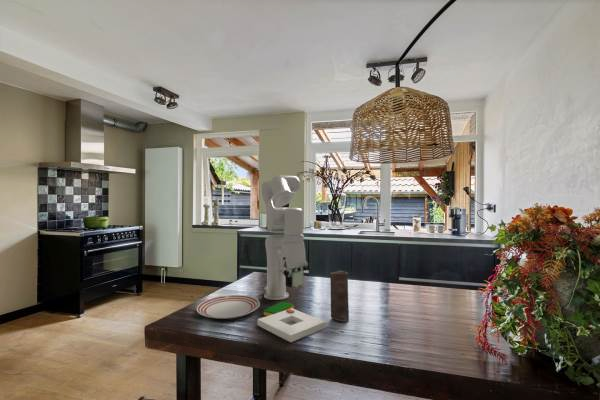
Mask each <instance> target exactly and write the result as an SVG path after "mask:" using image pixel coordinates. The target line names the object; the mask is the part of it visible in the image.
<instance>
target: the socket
mask: <svg viewBox="0 0 600 400" xmlns="http://www.w3.org/2000/svg"><path fill="white" fill-rule="evenodd" d="M257 326H258V327H260V328H262V329H264V330H266V331H268V332H269V333H272V334H273V335H275V336H277V337H279V338H281V339H283V340H285V341H287V342H288V343H293V342H295V341H297V340H300V339H302V338H304V337H307V336H309V335H312V334H314V333H317V332H318V331H322V330H323V329H326V328H327V327H326V326H327V321H325V320H323V319H320V318H317V317H315V316H312V315H311V314H308V313H305V312H302V311H300V310H297V309H295V308H294V309H292V308H291V309H288V310H285V311H282V312H279V313H276V314H272V315H269V316H266V315H265V316H263V317H260V318H257Z"/></svg>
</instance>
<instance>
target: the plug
mask: <svg viewBox="0 0 600 400" xmlns="http://www.w3.org/2000/svg"><path fill="white" fill-rule="evenodd" d="M288 271H289V270H288ZM291 277H292V287H294V288H299V287H300V286H301V285H304V274H303V272H302V271H297V269H296V268H295V269H292V272H291ZM285 284H286V279H285Z"/></svg>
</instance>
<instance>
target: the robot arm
mask: <svg viewBox="0 0 600 400" xmlns="http://www.w3.org/2000/svg"><path fill="white" fill-rule="evenodd" d="M260 187H261V188H260V189H261V190H260V191H261V197H262V199H263V202H264V204H265V209H266V210H265V211H266V227H267V230H268V231H269V232H270V233H283V234H272V235H268V236H267V237H266V239H265V240H264V242H265V245H264V246H265V252H266V286H264V290H266V291H265V293H264V295H263V297H264V299H267V300H270V301H280V300H281V301H283V300H286V299H288V298H289V296H290V294H289V292H287V291H286V290H287V287H288V288H292V287H293V286H292V277H291V272H292V269H295V270H297V271H302V272H303V275H304V274H305V270H306V268H307V267H308V266H309V262H308V261H307V258H306V257H307V254H306V253H307V252H306V247H305V242H304V239H305V235H304V211H303V209H302V208H299V207H284V206H286V205H288V204H289V203H291V201H292V200H293V196H295V195H297V194H298V193H299V192H300V189H301V182H300V179H299V177H298V176H297V175H281V174H280V175H276V176H273V177H272V178H271V180H266V181H263V182H262V183H261V186H260ZM288 270H289V271H288ZM285 279H286V284H285Z"/></svg>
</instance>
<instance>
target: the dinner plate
mask: <svg viewBox="0 0 600 400" xmlns="http://www.w3.org/2000/svg"><path fill="white" fill-rule="evenodd" d="M260 305H261V302H260V300H259V299H257V298H256V297H253V296H251V295H250V296H249V295H244V294H228V295H227V294H226V295H220V296H215V297H212V298H208V299H206V300H204V301H202V302H201V303H199V304H198V305H197V307H196V312H197V313H198V314H199V315H201V316H204V317H205V318H209V319H217V320H218V319H219V320H231V319H236V318H240V317H243V316H247V315H249V314H251V313H253V312H254V311H256V310H257V309H258V308H259V307H260Z"/></svg>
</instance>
